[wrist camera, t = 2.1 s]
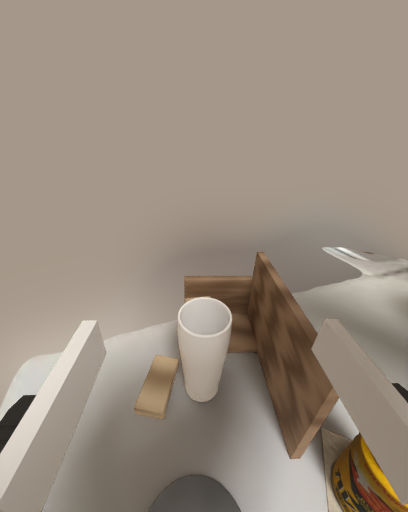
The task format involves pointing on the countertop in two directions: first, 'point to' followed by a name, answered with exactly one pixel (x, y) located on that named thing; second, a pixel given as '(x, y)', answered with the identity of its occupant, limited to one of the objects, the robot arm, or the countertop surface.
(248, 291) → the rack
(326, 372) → the robot arm
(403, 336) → the countertop surface
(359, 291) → the countertop surface
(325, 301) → the countertop surface
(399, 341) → the countertop surface
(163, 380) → the offcut flat
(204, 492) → the coaster
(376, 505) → the condiment
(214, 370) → the drinking glass
